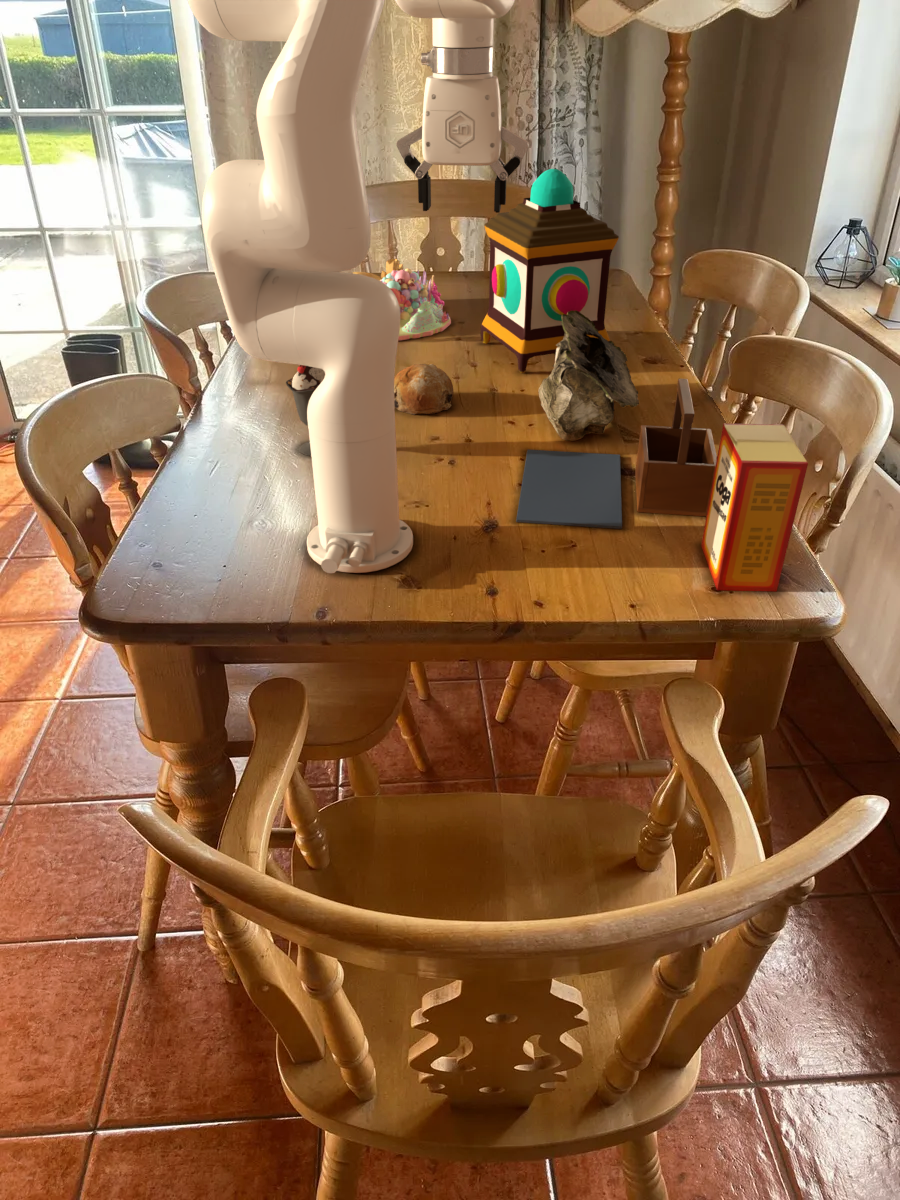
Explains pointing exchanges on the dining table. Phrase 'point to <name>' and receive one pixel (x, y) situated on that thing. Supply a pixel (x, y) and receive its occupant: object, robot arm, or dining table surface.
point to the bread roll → (422, 390)
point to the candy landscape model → (414, 301)
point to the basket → (675, 463)
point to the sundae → (305, 394)
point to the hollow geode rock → (585, 381)
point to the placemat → (571, 489)
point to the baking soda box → (752, 506)
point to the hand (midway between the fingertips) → (462, 209)
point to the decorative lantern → (545, 269)
